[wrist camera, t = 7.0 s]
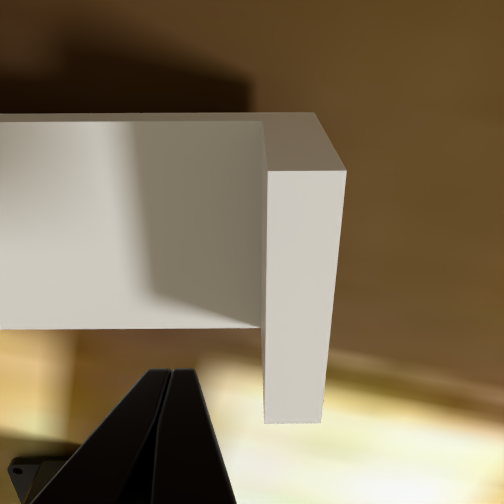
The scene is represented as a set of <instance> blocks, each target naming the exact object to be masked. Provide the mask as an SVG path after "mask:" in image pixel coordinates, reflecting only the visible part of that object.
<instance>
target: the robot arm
mask: <svg viewBox="0 0 504 504" xmlns="http://www.w3.org/2000/svg"><path fill="white" fill-rule="evenodd" d="M8 473H9V475H10V478H11V480H12V483H13V485H14V487H15V490H16V492H17V494H18V497H19V499H20V502H21V504H237V503H236V499H235V496H234V493H233V490H232V486H231V483H230V480H229V477H228V474H227V470H226V467H225V464H224V461H223V457H222V454H221V451H220V448H219V445H218V441H217V438H216V435H215V432H214V428H213V425H212V422H211V419H210V415H209V412H208V409H207V406H206V403H205V399H204V396H203V393H202V390H201V386H200V383H199V380H198V377H197V374H196V371H195V370H194V369H193V368H176V369H173V371H171V370H170V369H168V368H154V369H149V370H147V371H146V372H145V373H144V375H143V376H142V377H141V378H140V379H139V380H138V381H137V383H136V384H135V385H134V386H133V387H132V388H131V389H130V390H129V392H128V393H127V394H126V395H125V396H124V397H123V398H122V400H121V401H120V402H119V403H118V404H117V405H116V406H115V408H114V409H113V410H112V411H111V412H110V413H109V414H108V416H107V417H106V418H105V419H104V420H103V421H102V422H101V423H100V425H99V426H98V427H97V428H96V429H95V430H94V431H93V433H92V434H91V435H90V436H89V437H88V438H87V439H86V441H85V442H84V443H83V444H82V445H81V446H80V447H79V449H78V450H77V451H76V452H75V453H74V454H73V455H72V456H71V457H36V458H14V459H13V460H12V461H11V463H10V465H9V467H8Z"/></svg>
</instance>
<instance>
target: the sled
mask: <svg viewBox="0 0 504 504" xmlns="http://www.w3.org/2000/svg"><path fill="white" fill-rule="evenodd" d="M346 172H347V170H346V169H345V167H344V165H343V163H342V161H341V160H340V158H339V156H338V154H337V152H336V151H335V149H334V147H333V145H332V143H331V142H330V140H329V138H328V136H327V134H326V133H325V131H324V129H323V127H322V125H321V124H320V122H319V120H318V118H317V116H316V115H315V113H314V112H237V113H52V114H0V330H9V329H164V328H261V341H262V369H263V398H264V424H285V423H321V417H322V407H323V397H324V387H325V378H326V368H327V358H328V348H329V339H330V329H331V319H332V309H333V299H334V290H335V280H336V270H337V260H338V250H339V241H340V231H341V221H342V211H343V201H344V192H345V182H346Z"/></svg>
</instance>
